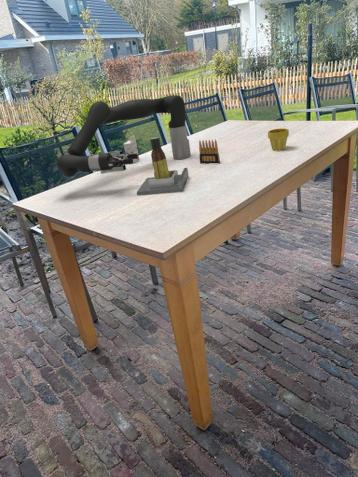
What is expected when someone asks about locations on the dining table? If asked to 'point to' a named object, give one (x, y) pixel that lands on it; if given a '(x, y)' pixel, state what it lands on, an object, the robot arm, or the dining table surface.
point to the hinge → (115, 167)
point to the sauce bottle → (159, 159)
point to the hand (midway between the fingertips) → (135, 158)
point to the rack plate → (164, 183)
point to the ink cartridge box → (131, 147)
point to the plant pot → (278, 138)
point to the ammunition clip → (208, 152)
